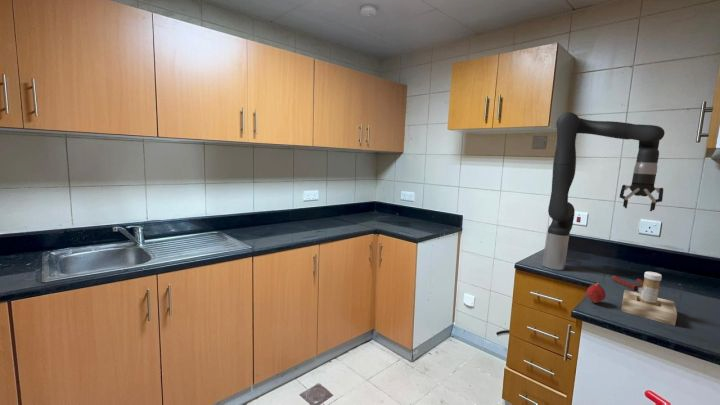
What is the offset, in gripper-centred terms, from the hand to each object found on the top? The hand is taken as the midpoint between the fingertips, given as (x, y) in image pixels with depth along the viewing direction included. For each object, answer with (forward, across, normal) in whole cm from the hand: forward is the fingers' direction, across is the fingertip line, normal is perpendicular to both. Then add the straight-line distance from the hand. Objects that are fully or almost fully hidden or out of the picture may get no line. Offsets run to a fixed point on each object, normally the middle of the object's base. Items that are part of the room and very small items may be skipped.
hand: (638, 209), depth 142 cm
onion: (+33, -8, -41) cm, 53 cm away
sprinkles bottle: (+32, +7, -35) cm, 48 cm away
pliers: (+34, +2, -8) cm, 35 cm away
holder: (+33, +7, -35) cm, 49 cm away
